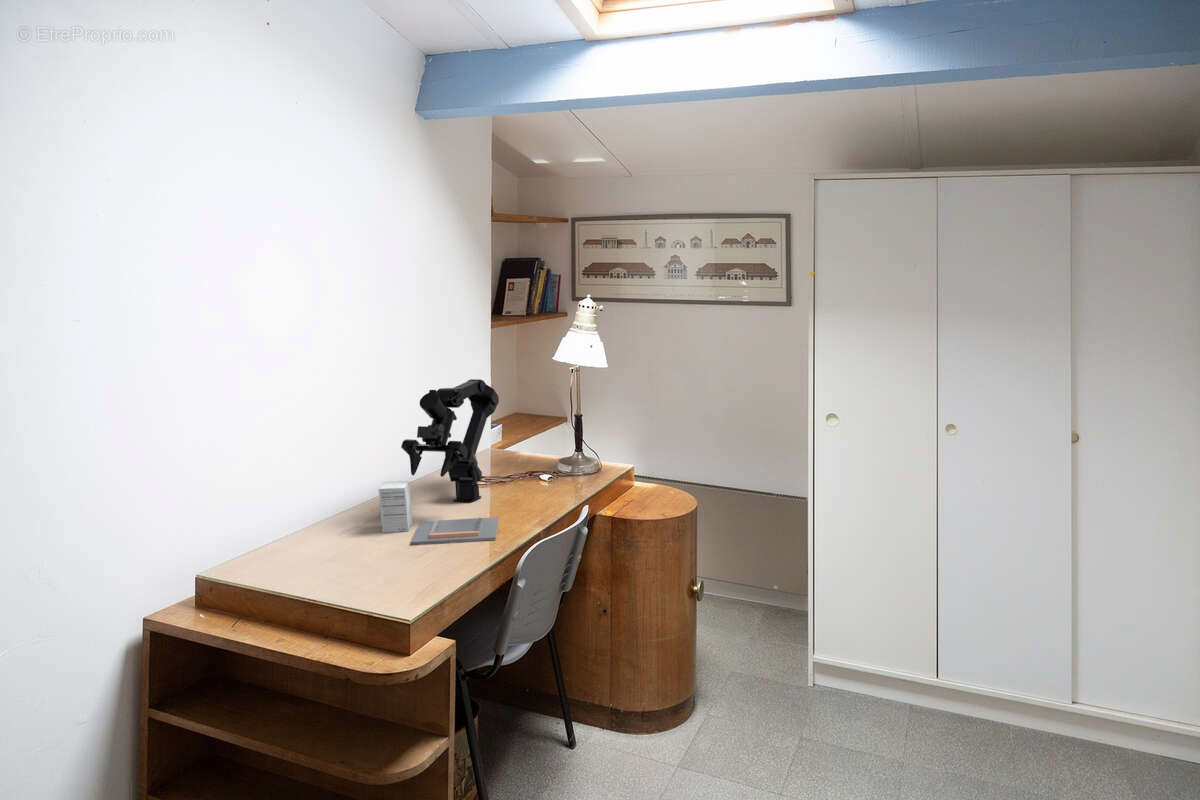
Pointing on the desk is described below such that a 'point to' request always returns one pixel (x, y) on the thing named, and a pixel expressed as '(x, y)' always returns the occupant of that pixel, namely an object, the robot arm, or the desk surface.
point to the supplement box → (395, 506)
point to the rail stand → (456, 530)
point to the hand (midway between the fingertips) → (426, 475)
